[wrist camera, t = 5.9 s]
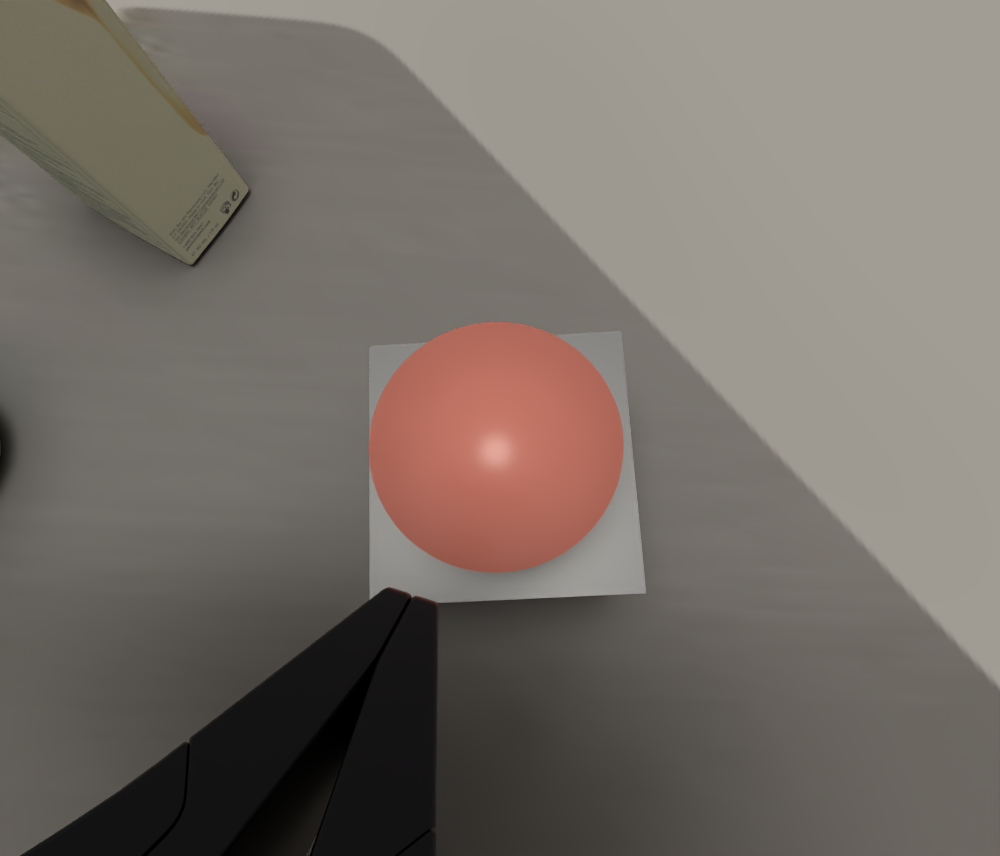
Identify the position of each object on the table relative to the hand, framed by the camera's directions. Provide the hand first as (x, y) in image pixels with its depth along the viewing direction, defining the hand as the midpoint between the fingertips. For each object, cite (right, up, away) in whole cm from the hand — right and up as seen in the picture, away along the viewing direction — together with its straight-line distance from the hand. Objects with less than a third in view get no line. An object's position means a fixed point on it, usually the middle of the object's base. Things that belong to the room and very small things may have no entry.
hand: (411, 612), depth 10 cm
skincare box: (-13, +13, +17) cm, 25 cm away
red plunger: (+2, +1, +11) cm, 12 cm away
